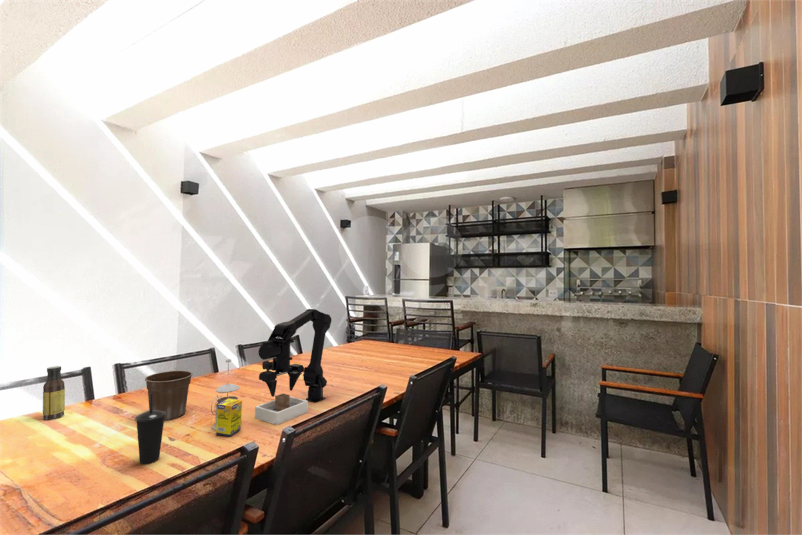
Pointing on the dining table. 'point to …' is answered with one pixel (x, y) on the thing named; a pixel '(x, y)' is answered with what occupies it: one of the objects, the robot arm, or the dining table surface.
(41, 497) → the dining table surface
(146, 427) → the drinking cup
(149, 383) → the plant pot
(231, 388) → the french press
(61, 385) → the sauce bottle
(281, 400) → the peg
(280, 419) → the tray
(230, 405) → the supplement box
